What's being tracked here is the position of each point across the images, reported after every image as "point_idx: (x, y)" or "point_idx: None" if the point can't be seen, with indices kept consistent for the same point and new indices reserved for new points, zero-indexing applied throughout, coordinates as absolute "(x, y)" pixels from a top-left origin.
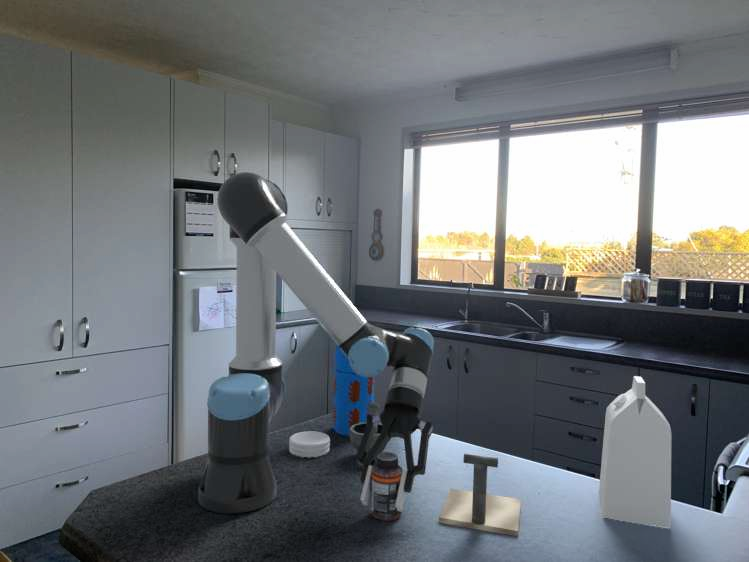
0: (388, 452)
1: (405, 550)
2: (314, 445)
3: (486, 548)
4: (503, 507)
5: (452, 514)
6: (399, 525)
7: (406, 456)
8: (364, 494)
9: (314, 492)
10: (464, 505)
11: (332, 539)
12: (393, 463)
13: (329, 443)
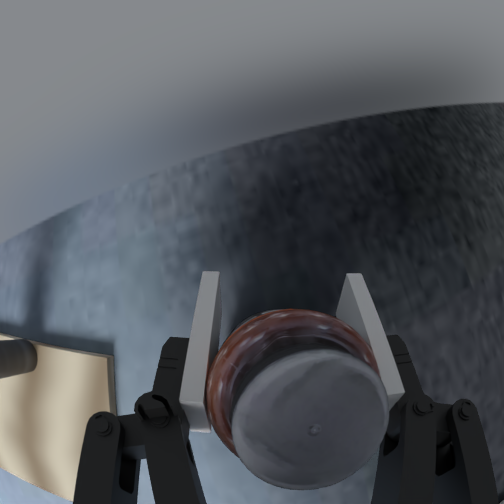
0: (323, 484)
1: (175, 185)
2: None
3: (18, 260)
4: (4, 430)
5: (80, 382)
6: None
7: (190, 489)
8: (355, 286)
9: (479, 387)
10: (67, 436)
11: (365, 178)
12: (251, 372)
13: None
